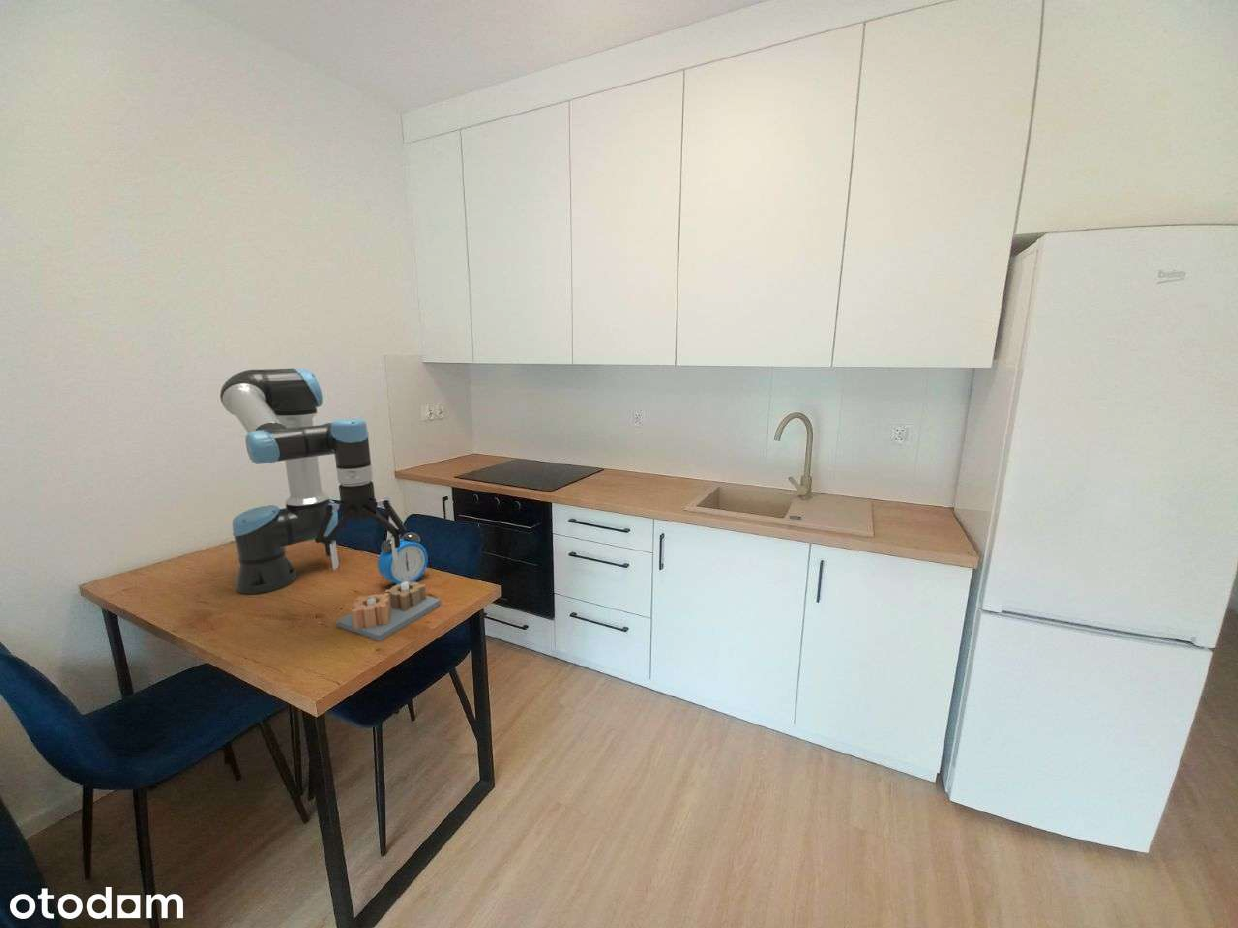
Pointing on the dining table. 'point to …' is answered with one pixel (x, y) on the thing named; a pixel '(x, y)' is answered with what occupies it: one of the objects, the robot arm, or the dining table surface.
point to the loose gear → (371, 611)
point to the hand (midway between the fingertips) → (366, 563)
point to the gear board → (397, 610)
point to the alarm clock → (403, 560)
